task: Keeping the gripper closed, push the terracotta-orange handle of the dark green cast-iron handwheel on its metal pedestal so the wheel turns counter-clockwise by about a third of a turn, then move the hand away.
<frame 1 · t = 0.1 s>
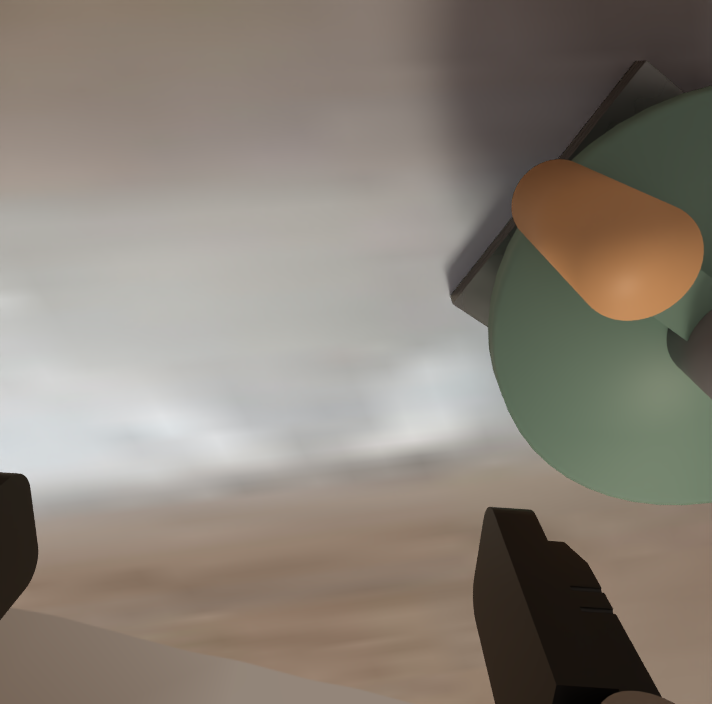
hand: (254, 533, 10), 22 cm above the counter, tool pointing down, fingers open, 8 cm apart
pedestal: (633, 263, 31), on the counter
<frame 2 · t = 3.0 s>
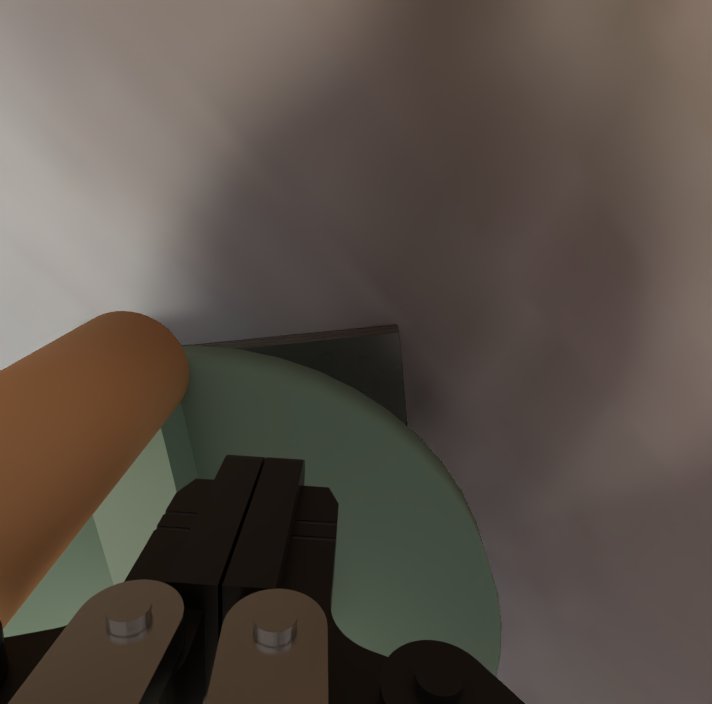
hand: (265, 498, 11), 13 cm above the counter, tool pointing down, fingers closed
pedestal: (254, 489, 25), on the counter
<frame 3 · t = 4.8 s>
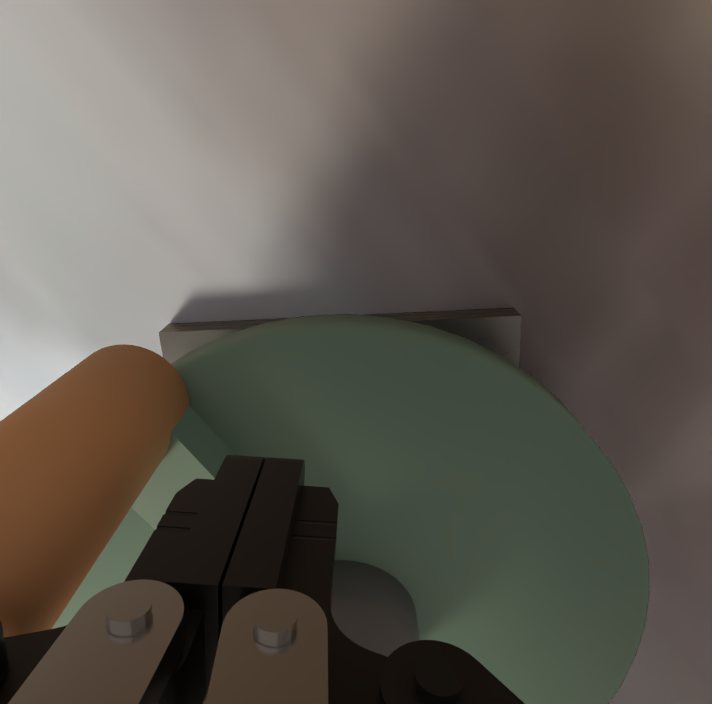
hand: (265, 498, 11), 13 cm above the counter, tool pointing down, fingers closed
pedestal: (349, 467, 25), on the counter
handwheel: (320, 690, 14), point 12 cm above the counter, hinge at 34.1°, touching gripper
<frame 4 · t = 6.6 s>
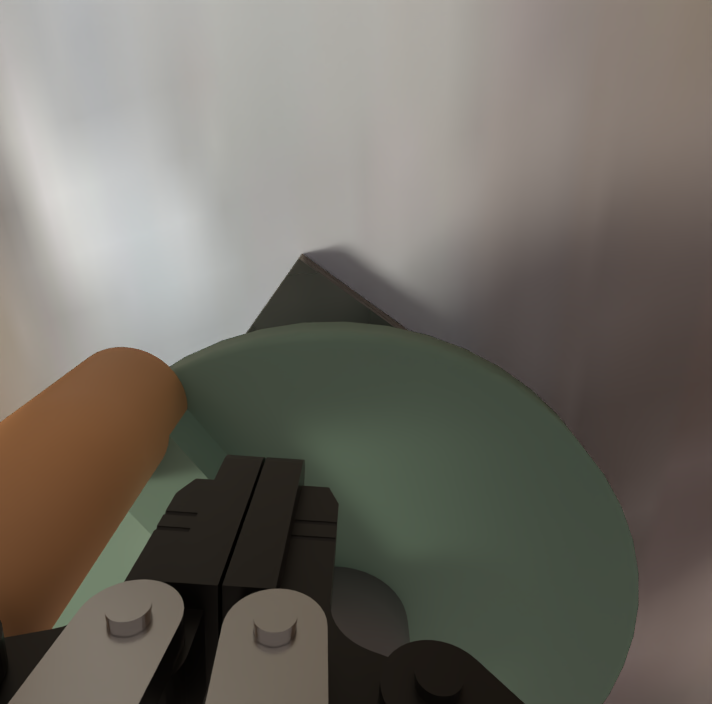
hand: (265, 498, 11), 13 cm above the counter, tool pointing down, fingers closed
pedestal: (342, 473, 25), on the counter
handwheel: (312, 697, 14), point 12 cm above the counter, hinge at 71.8°, touching gripper
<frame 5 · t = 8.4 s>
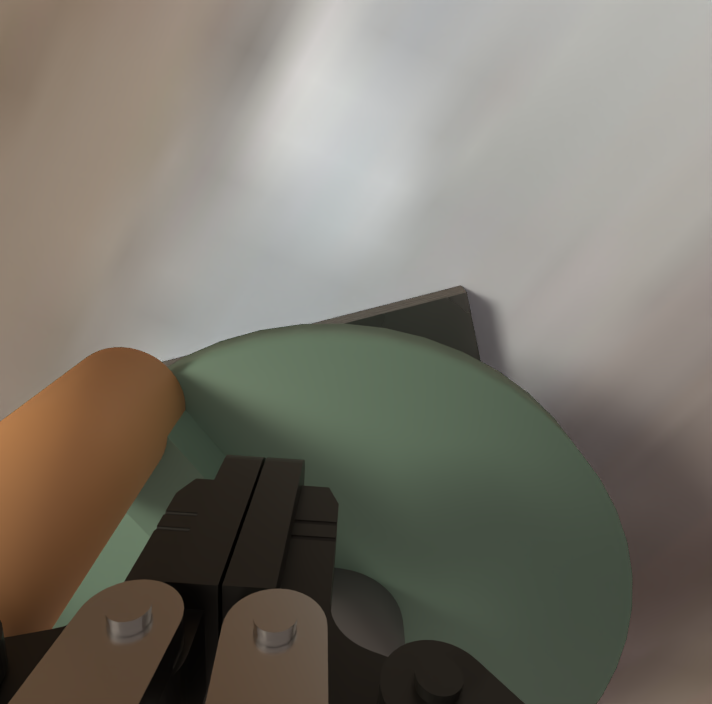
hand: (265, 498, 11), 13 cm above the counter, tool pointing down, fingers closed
pedestal: (338, 473, 25), on the counter
handwheel: (308, 697, 14), point 12 cm above the counter, hinge at 110.1°, touching gripper
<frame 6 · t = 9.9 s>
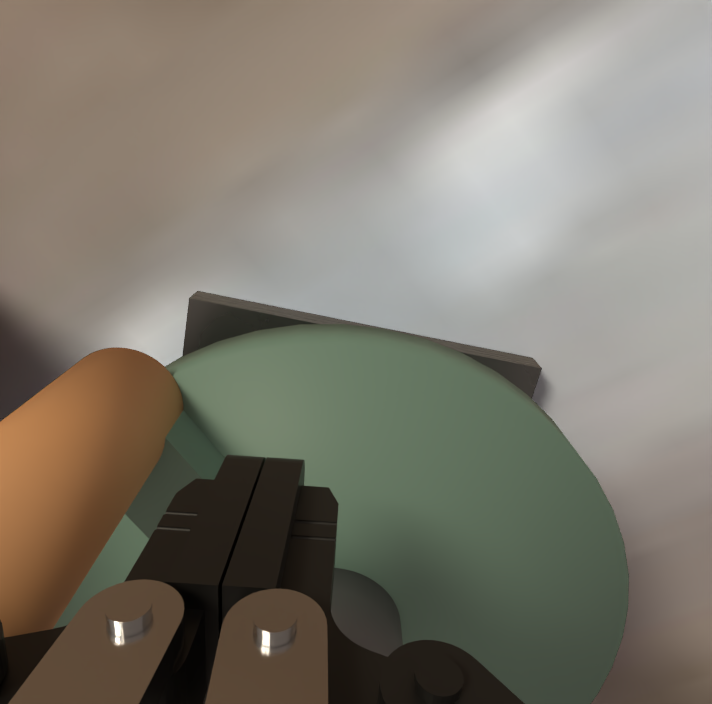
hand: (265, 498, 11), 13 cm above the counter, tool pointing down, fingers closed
pedestal: (335, 471, 25), on the counter
handwheel: (305, 697, 14), point 12 cm above the counter, hinge at 136.4°, touching gripper
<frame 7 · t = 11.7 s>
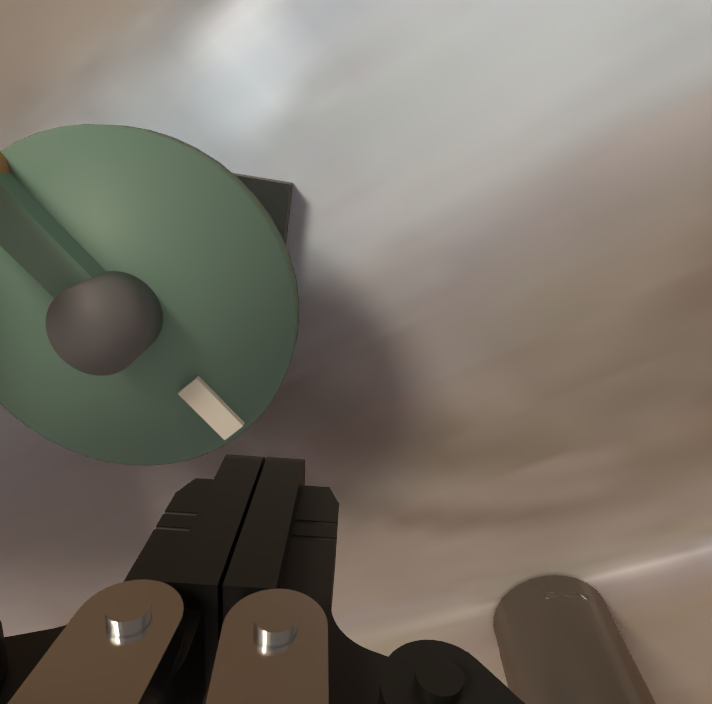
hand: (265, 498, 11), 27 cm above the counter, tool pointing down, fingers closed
pedestal: (174, 274, 37), on the counter
handwheel: (82, 318, 26), point 12 cm above the counter, hinge at 138.3°
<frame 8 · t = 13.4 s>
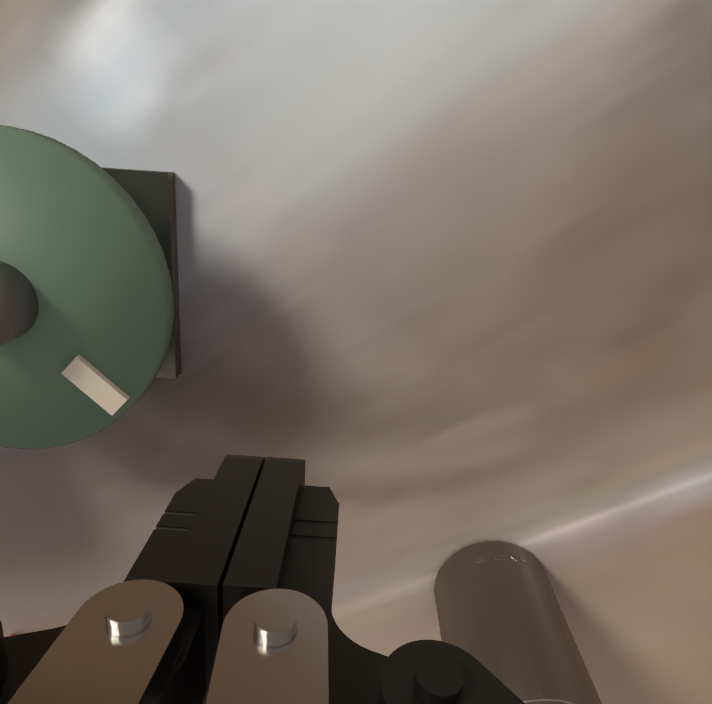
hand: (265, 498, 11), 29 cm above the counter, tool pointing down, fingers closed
pedestal: (76, 271, 39), on the counter
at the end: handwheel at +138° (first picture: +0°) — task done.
